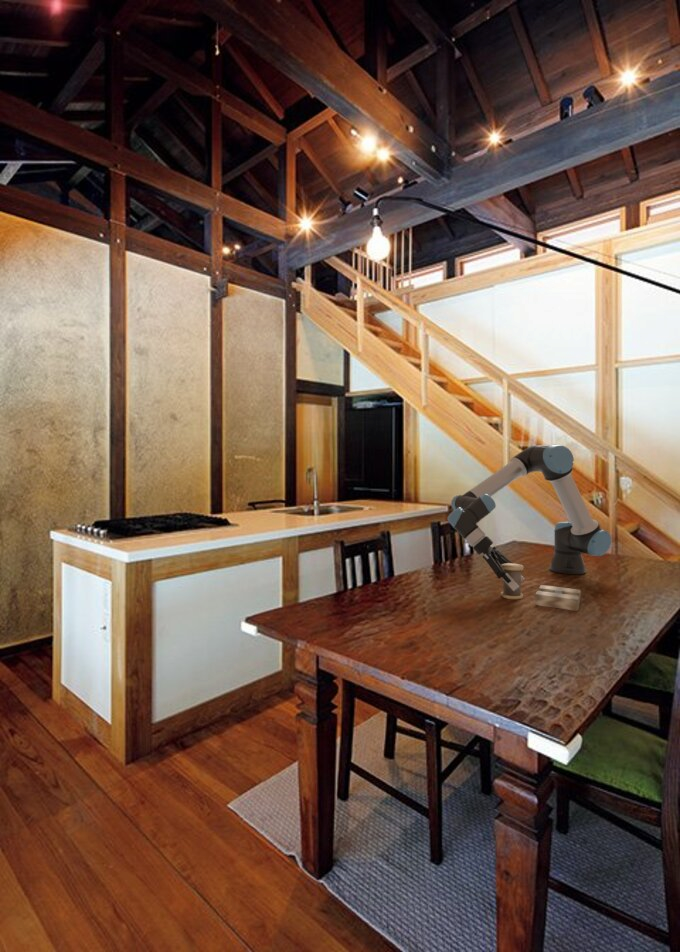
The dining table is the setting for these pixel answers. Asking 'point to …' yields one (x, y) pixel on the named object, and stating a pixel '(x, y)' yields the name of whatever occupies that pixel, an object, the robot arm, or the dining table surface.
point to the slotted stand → (558, 597)
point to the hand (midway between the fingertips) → (519, 584)
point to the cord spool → (515, 574)
